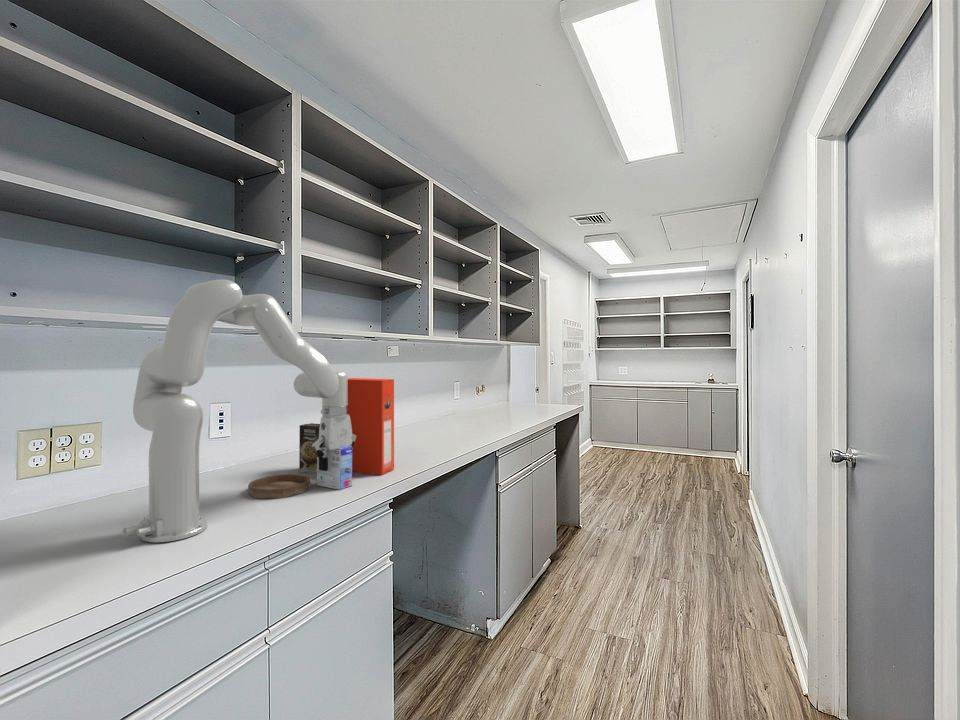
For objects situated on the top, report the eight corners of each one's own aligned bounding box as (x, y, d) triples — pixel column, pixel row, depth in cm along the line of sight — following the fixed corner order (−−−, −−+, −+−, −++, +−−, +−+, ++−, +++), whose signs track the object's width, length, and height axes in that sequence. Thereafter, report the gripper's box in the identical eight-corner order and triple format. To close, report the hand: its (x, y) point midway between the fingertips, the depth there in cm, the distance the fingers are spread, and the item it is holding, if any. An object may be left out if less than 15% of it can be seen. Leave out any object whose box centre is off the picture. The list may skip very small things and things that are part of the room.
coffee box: (298, 472, 156) (298, 425, 155) (310, 467, 162) (310, 422, 162) (320, 474, 153) (321, 426, 153) (332, 469, 159) (332, 424, 159)
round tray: (275, 502, 124) (275, 492, 124) (236, 493, 131) (236, 484, 131) (321, 486, 139) (321, 478, 139) (284, 479, 146) (284, 471, 146)
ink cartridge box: (353, 485, 140) (353, 439, 140) (340, 490, 135) (340, 442, 135) (329, 481, 144) (329, 436, 144) (316, 486, 139) (316, 439, 139)
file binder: (381, 475, 152) (381, 380, 151) (338, 470, 158) (339, 379, 157) (394, 470, 159) (394, 379, 159) (352, 465, 165) (353, 378, 165)
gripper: (322, 415, 130) (322, 475, 130) (363, 409, 146) (363, 462, 146) (303, 414, 134) (304, 471, 134) (346, 407, 149) (346, 459, 149)
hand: (335, 466), depth 140 cm, fingers open, 9 cm apart
